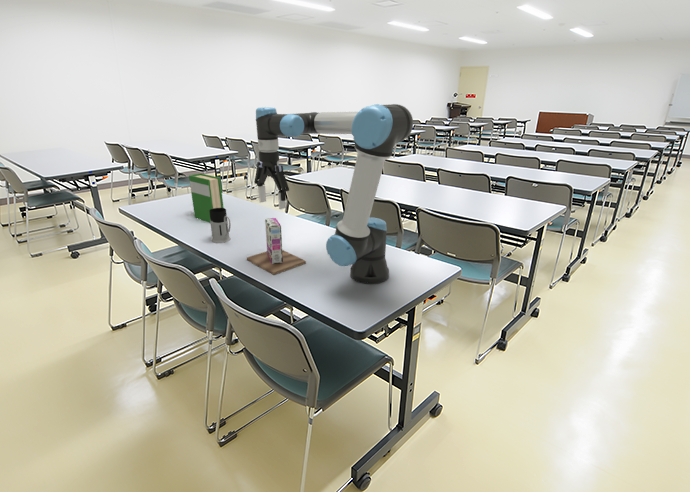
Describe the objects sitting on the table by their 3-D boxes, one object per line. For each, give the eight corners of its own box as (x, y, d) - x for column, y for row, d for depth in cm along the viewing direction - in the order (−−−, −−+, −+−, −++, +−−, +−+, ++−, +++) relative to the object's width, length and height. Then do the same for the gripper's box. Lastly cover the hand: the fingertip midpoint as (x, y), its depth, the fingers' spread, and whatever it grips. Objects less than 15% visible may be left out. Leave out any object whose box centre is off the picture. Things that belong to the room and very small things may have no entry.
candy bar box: (283, 263, 159) (281, 225, 153) (271, 264, 158) (268, 226, 151) (278, 253, 169) (276, 217, 163) (267, 254, 167) (264, 218, 161)
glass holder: (224, 235, 193) (221, 206, 187) (240, 242, 184) (237, 212, 178) (208, 239, 187) (204, 210, 181) (223, 247, 178) (220, 216, 172)
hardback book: (225, 220, 215) (220, 177, 206) (213, 223, 209) (207, 179, 200) (206, 214, 225) (200, 173, 216) (194, 217, 219) (188, 175, 210)
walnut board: (305, 263, 162) (305, 260, 162) (273, 275, 152) (273, 272, 151) (277, 250, 175) (277, 247, 175) (246, 260, 165) (246, 257, 164)
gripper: (242, 148, 152) (247, 200, 160) (279, 155, 136) (283, 213, 144) (259, 146, 157) (262, 197, 165) (296, 153, 141) (299, 209, 148)
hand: (272, 205), depth 154 cm, fingers open, 13 cm apart
